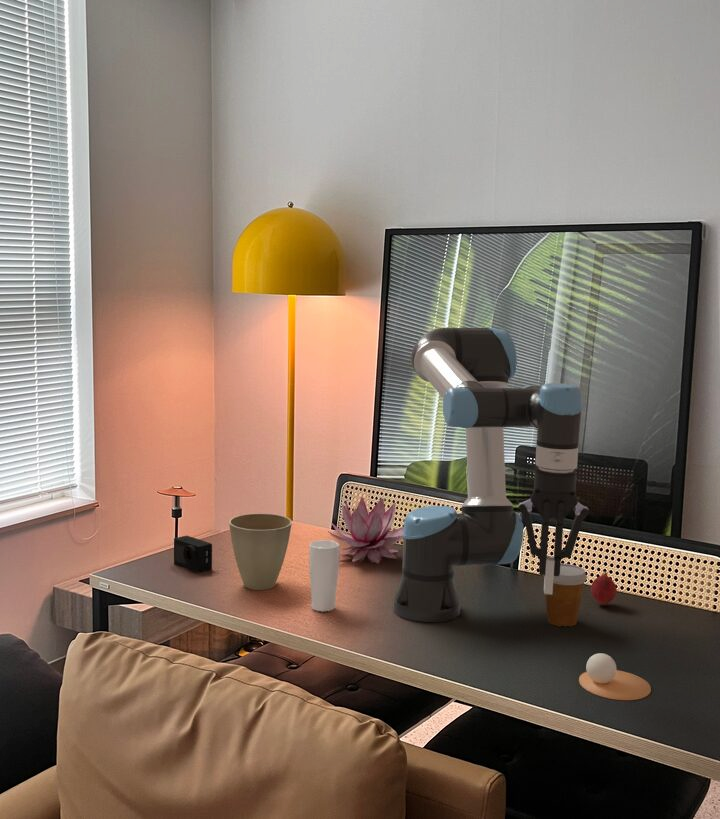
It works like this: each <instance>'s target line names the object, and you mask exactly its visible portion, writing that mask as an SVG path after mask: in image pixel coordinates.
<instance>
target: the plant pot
mask: <svg viewBox="0 0 720 819" xmlns="http://www.w3.org/2000/svg"><path fill="white" fill-rule="evenodd" d="M292 524H293V521H292V519H291V518H289V517H287V516H285V515H281V514H274V513H258V512H257V513H247V514H239V515H237V516H233V517H232V518H230V519H229V521H228V525H229V532H230V533H229V534H230V539H231V545H232V549H233V550H232V551H233V553H234V554H233V555H234V558H235V561H236V566H237V569H238V572H239V575H240V578H241V581H242V583H243V585H244V587H245V588H247V589H249V590H253V591H254V590H255V591H264V590H265V589H266V590H269V589H272V588H274V587H275V585H276V583H277V580H278V578H279V576H280V573H281V570H282V566H283V563H284V560H285V557H286V554H287V549H288V547H289V546H288V545H289V541H290V537H291V532H292V531H291V529H292ZM266 590H265V591H266Z"/></svg>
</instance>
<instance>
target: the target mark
mask: <svg viewBox="0 0 720 819" xmlns="http://www.w3.org/2000/svg"><path fill="white" fill-rule="evenodd" d="M578 683H579V685H580V686H581V688H583V689H584V690H585V691H587V692H589V693H590V694H593V695H595V696H598V697H602V698H604V699H609V700H614V701H615V700H616V701H636V700H640V699H644V698H646V697H648V696H649V695H650V694H651V691H652V689H651V685H650V684H649V682H648V681H647V680H645V679H643V678H642V677H640V676H638V675H636V674H633V673H631V672H627V671H623V670H619V669H617V670H616V675H615V677H614V678H613V679H612V680H611V681H610V682H608V683H605V684H600V683H597V682H595V681H593V680H592V679H591V678H590V677H589V676H588V673H587V671H584V672H582V673H581V674H580V675H579V677H578Z"/></svg>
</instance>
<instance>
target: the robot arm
mask: <svg viewBox="0 0 720 819" xmlns="http://www.w3.org/2000/svg"><path fill="white" fill-rule="evenodd" d="M517 359H518V357H517V350H516V346H515V343H514V341H513V338H512V336H511V335H510V333H509V332H508V331H506V330H505V329H501V328H500V329H499V328H491V327H440V328H435V329H431V330H430V331H428V332H427V333H425V334H424V335H423V334H422V336H421V337H420V338H419V339H418V340H417V341H416V342H415V343H414V346H413V347H412V350H411V355H410V362H411V366H412V368H413V370H414V372H415V373H416V375H417V377H419V378H420V379H421V380H423V381H424V382H426V383H427V382H428V383H429V384H430V385H431V386H432V387H433V389H435V391H436V392H437V393H438V394H439V396H440V397H441V398H442V399H443V400H442V413H443V417H444V422H445V423H446V425H447V426H449V427H452V428H461V429H465V440H466V442H465V445H466V476H467V477H466V478H467V480H466V481H467V499H466V500H465V501H464V502H463V503H462V504H461V513H458V512H457V510H456V509H455V508H454V507H451V506H448V505H428V506H423V507H418V508H416V509H414V510H413V509H412V510H411V511H410V512H408V513H407V514H406V516H405V517H404V522H403V527H404V529H403V533H402V535H401V536H403V539H402V563H401V564H402V566H401V567H402V569H401V577H400V581H399V583H398V586H397V587H396V588H397V589H396V591H395V594H394V596H393V599H392V600H393V601H392V604H393V606H392V609H393V612H394V613H395V614H396V615H397V616H399V617H401V618H403V619H407V620H410V621H415V622H421V623H422V622H423V623H440V622H446V621H451V620H453V619H455V618H457V617H459V615H460V614H461V601H460V597H459V593H458V590H457V586H456V582H455V578H454V577H455V576H454V575H455V567H457V566H458V567H460V566H463V567H464V566H466V567H467V566H498V565H508V564H511V563H514V562H515V560H516V559H517V558H518V556H519V554H520V552H521V550H522V546H523V542H524V540H523V539H524V527H525V529H526V535H527V541H528V544H529V545H528V546H529V550H530V554H531V555H532V556H536V557H538V559H539V561H538V562H539V563H538V574H539V576H543V575H545V578H544V577H543V579H544V580H543V593H544V594H543V595H546V594H551V595H552V593H553V578H554V576H559V575H560V565H561V564H562V560H563V559H565V558H569V559H570V558H571V557H572V554H573V552H574V548H575V545H576V543H577V539H578V536H579V533H580V530H581V527H582V525H583V522H584V520H586V518H587V517H588V515H589V514H590V511H589V508H588V506H587V505H583V504H581V502H579V500H578V496H577V495H576V491H577V490H576V489H577V487H576V486H577V476H578V475H577V472H576V469H577V468H578V461H579V460H578V457H579V442H580V441H579V440H580V430H581V429H580V428H581V417H582V409H583V403H582V390H581V388H580V387H579V386H578V385H575V384H569V383H563V382H562V383H561V382H559V383H558V382H555V383H553V382H552V383H551V382H549V383H544V384H543V385H542V386H540V385H526V386H523V387H508V386H509V380H510V379H512V378H514V376H515V375H516V372H517V365H518V360H517ZM504 428H535V429H536V431H537V432H536V433H537V434H536V435H537V436H536V446H535V448H536V449H535V463H534V464H535V466H536V468H535V469H534V480H533V481H534V482H533V491H532V493H531V495H530V498H529V499H527V500H525V501H520V502H519V503H518V510H519V512H520V513H521V514H522V516H523V517H522V516H521V514H520V513H519V512H516V511H514V503H512V502H511V501H510V500H509V499H508V498H507V490H506V467H505V466H506V465H505V464H506V463H505V439H504V438H505V436H504V435H505V434H504ZM532 506H534V508H535V510H536V511H537V512H538V515H539V516H540V517H541V529H540V530H541V532H540V542H539V543H540V544H539V546H540V547H537V542H536V537H535V532H534V526H533V519H532V516H531V512H532V511H533V507H532ZM573 509H574V515H575V517H574V518H573V521H572V525H571V528H570V531H569V533H568V538H567V540H566V542H565V546H564V548H563V535H564V534H563V533H564V532H563V531H564V524H565V522H564V519H565V518H566V517H567V516H569V514H570V513H571V512H572V511H573ZM522 518H523V519H524V523H525V524H523V519H522ZM550 519H555V528H554V529H555V530H554V531H555V532H554V545H553V546H554V548H553V555H552V556H551V555H548V545H549V529H550ZM524 525H525V526H524Z"/></svg>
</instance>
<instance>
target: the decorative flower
mask: <svg viewBox="0 0 720 819" xmlns="http://www.w3.org/2000/svg"><path fill="white" fill-rule="evenodd" d="M396 504H397V503H396V502H393V504H392V505H391V506H390V507H389V508H388V509H387V511H386V506H385V501H384V498H380V499H379V500H378V502H376V504H375V505H374V506H373V508H372V509H371V510H370V512H369V510H368V508H367V504H366V502H365V499H364V497H363V496H362V497H360V499H359V502H358V504H357V507H356V508H354V509H353V511H352V513H351V510H350V508H349V505H348V501H347V500H345V506H344V504H341V508H342V509H341V510H342V511H341V512H342V518H343V521H344V524H345V526H346V529H347V530H348V532H349V533H350V534H348V533H347V532H345V531H343V530H342V529H340V528H339V527H337V526H336V525H335V524H334V523H333V522H330V523H331V525H332V527H333V528H334V530H336V532H337V533H338V534H340V535H342V536H343V537H341V536H339V535H336V534H334V533H332V532H330V531H328V530H327V533H328V534H329V535H330V536H331V537H333V538H335V539H336V540H338V541H340V542H344V543H347V544H348V545H349V546H350V547H346V548H344V547H343V548H341V547H339V550H343V551H346V552H343V553H339V557H343V556H347V555H349V554H352V553H354V554H353V557H352V558H353V559H352V561H351V562H357V561H360V562H359V563H361V562H362V561H363V560H364V559H366V557H367V559H368V560H369V561H370V563H372V564H373V563H377V564H379V563H380V561H383V559H382V558H383V557H385V558H387V559H397V560H398V557H397V556H396V555H395V554H394V553H398V549H397V550H396V549H392V548H390V547H388V546H391V545H395V544H396V543H398V542H400V541H403V535H402V533H403V529H404V526H402V527H399V528H395V529H393V530H391V529H392V526H393V523H394V518H395V514H396V506H397V505H396ZM347 550H348V551H347Z"/></svg>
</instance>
